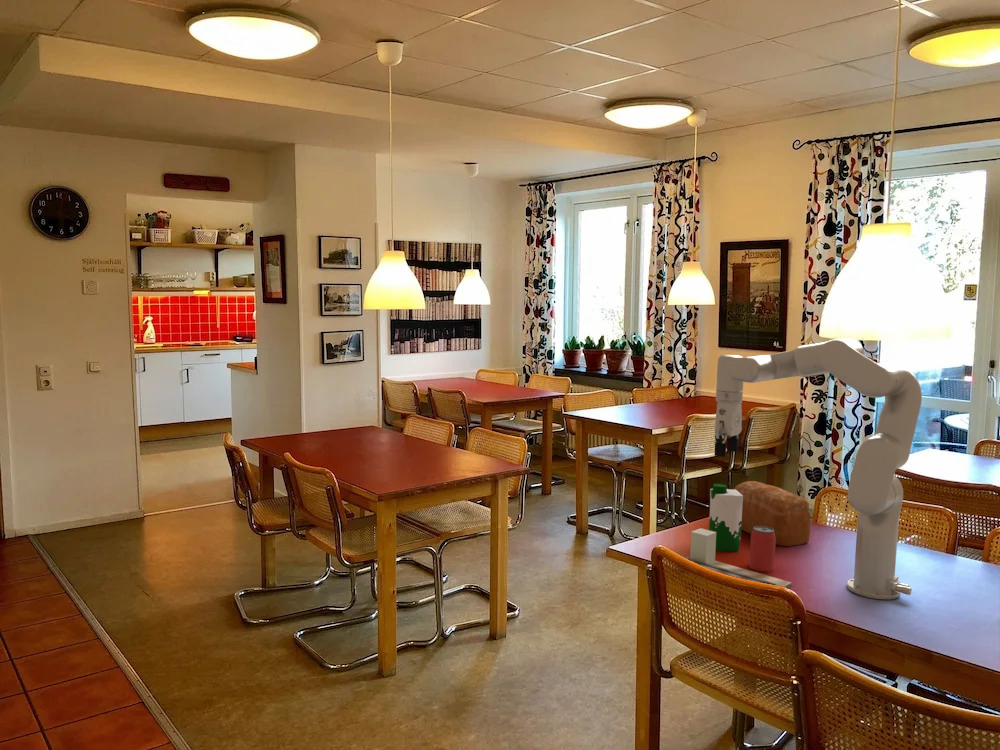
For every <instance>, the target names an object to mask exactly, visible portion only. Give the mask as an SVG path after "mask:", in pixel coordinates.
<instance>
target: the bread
mask: <svg viewBox="0 0 1000 750" xmlns="http://www.w3.org/2000/svg"><path fill="white" fill-rule="evenodd" d="M733 490H737V491H738V492H739V493H740V494H742V495H743V504H742V523H741V531H744V532H746V533H748V534H750V535H751V533H752V531H753V528H754V527H756V526H765V527H770V528H772V529H774V533H775V537H776V543H775V545H777V546H782V547H790V546H791V547H793V546H800V545H804V544H805V545H806V544H807V543H809V542H810V533H811V513H810V512H809V509H810V502H808V501H807V500H806V499H805V498H803V497H801V496H800V495H797V494H794V493H792V492H790V491H788V490H785V489H783V488H781V487H778V486H775V485H771V484H767V483H763V482H761V481H759V482H758V481H755V480H751V481H750V480H748V481H744V482H741V483H739V484H737V485H736V486H735V487H734V489H733Z"/></svg>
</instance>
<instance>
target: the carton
mask: <svg viewBox="0 0 1000 750" xmlns="http://www.w3.org/2000/svg"><path fill="white" fill-rule="evenodd" d="M715 550H716V532H714V531H710V530H709V529H705V528H703V527H702V528H701V527H700V528H697V529H695V530H692V531H691V532H690V552H689V558H690V559H694V560H697V561H700V562H704V563H707V564H711V565H712V564H714V563H715V561H716V551H715Z"/></svg>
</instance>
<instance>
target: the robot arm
mask: <svg viewBox="0 0 1000 750" xmlns="http://www.w3.org/2000/svg"><path fill="white" fill-rule="evenodd" d="M716 370H717V371H716V390H715V401H716V402H717V404H716V412H715V422H714V423H715V424H714V456H715V457H722V458H725V457H726V456H727V455H726V454H727V452H731V453H732V452H733V453H737V452H738V450H739V449H738V448H739V436H740V435H739V434H741V432H742V431H743V430H742V428H743V426H742V425H743V422H742V421H743V417H742V416H743V415H742V414H743V411H742V410H743V409H742V403H743V393H744V392H743V391H744V383H747V384H750V383H752V384H753V383H761V382H767V381H769V382H770V381H775V380H782V379H785V378H786V379H787V378H793V377H800V378H806V377H812V376H820V375H825V374H831V375H833V377H835V378H836V379H838V380H840V381H841V382H842V383H844V384H846V385H847V386H848V387H850V388H851V389H854V391H856V392H858V393H859V394H861V395H863V396H866V397H868V398H873V399H877V398H882V397H884V404H883V406H882V408H881V411H880V414H879V419H878V422H877V426H876V429H875V430H876V431H875V432H874V435H873V436H870V437H868V438H866V439H865V440H864V441H863V442H862V443H861V444H860V446H859V448H858V449H857V453H856V456H855V458H854V462H853V467H852V471H851V475H850V479H849V484H848V486H847V487H848V488H847V499H848V502H849V505H850V506H851V508H852V509H854V511H856V512H857V513H858V517H857V527H856V541H855V557H854V570H853V578H850V579H848V580H847V581H846V588H847V590H849V591H851V592H852V593H854V594H857V595H858V596H862V597H865V598H870V599H875V600H895V599H897V598H899V597H900V596H901V594H903V595H907V596H911V594H912V592H913V591H912V587H911V586H910V585H909V584H906V583H901V582H900V581H899V576H897V575H896V565H897V564H896V561H897V560H896V559H897V549H898V536H899V525H900V518H901V517H900V516H901V510H902V506H903V502H904V501H903V500H904V488H903V486H902V482H901V481H900V480H899V478H898V477H897V476H896V475H895V474H896V470H897V469H900V468H902V467H903V466H904V465H906V463H908V460H909V457H910V454H911V449H912V445H913V440H914V437H915V432H916V428H917V423H918V419H919V416H920V411H921V407H922V401H923V400H922V399H923V398H922V397H923V396H922V395H923V394H922V389H921V384H920V383H919V380H918V379H917V377H916V375H915V374H914V373H912V372H911V370H910V369H908V368H907V367H905V366H904V365H902V364H899V363H896V362H893V361H884V362H876V361H874V360H873V359H870V358H869V357H868V356H866V355H865V350H864V346H862V344H861V343H860V342H859V341H858V340H856V339H853V338H850V337H849V338H834V339H830V340H828V341H824V342H818V343H812V344H807V345H805V344H804V345H800V346H797V347H796V348H794V349H792V350H789V351H782V352H778V353H777V352H776V353H771V354H765V355H754V356H753V355H752V356H741V355H739V354H738V355H737V354H721V355H719V357H718V358H717V369H716Z"/></svg>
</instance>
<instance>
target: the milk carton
mask: <svg viewBox="0 0 1000 750" xmlns="http://www.w3.org/2000/svg"><path fill="white" fill-rule="evenodd" d="M709 497H710V499H709V520H708V521H709V522H708V524H709V525H708V530H710V531H714V532H716V550H715V552H739V551H740V547H741V536H742V530H741V523H742V504H743V495H742V494H740V493H739V492H738V491H737V490H734V489H729V488H728V486H727V485H726V484H724V483H714V484H712V488H710V489H709Z"/></svg>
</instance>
